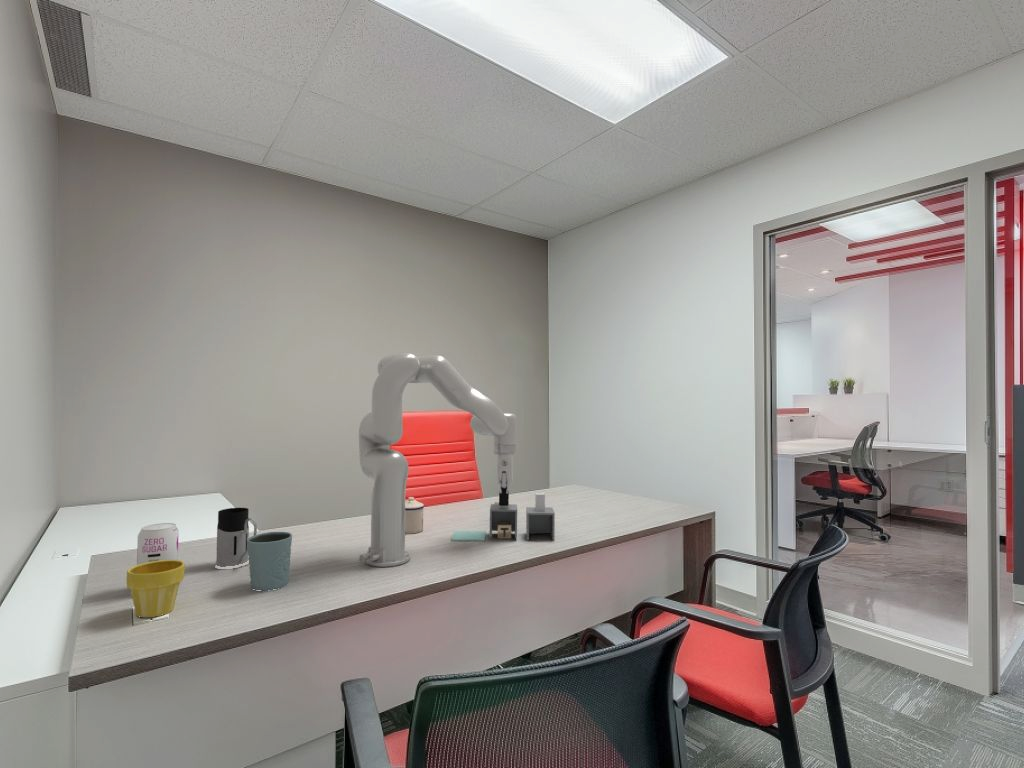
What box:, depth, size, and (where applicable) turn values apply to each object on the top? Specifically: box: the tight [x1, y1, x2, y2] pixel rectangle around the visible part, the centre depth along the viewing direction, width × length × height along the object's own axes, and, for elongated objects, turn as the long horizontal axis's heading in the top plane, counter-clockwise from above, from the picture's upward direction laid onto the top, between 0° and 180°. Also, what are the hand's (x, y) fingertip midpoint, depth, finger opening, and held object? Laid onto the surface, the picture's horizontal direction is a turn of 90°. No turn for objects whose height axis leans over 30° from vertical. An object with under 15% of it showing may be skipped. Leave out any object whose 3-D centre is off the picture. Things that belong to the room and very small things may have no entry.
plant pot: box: [126, 559, 186, 618], centre depth 112 cm, size 10×10×10 cm
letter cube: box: [497, 522, 512, 539], centre depth 174 cm, size 5×4×4 cm
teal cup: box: [247, 531, 293, 592], centre depth 128 cm, size 10×10×12 cm
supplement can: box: [136, 522, 180, 565], centre depth 125 cm, size 8×8×15 cm
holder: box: [215, 507, 258, 567], centre depth 142 cm, size 9×14×15 cm, turn 62°
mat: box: [450, 530, 487, 542], centre depth 174 cm, size 11×11×1 cm
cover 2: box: [525, 492, 556, 541], centre depth 174 cm, size 9×9×14 cm
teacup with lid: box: [405, 496, 425, 535], centre depth 182 cm, size 12×9×12 cm
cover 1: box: [489, 489, 518, 538], centre depth 174 cm, size 9×9×14 cm
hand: (503, 503), depth 174 cm, fingers closed on cover 1, 3 cm apart
